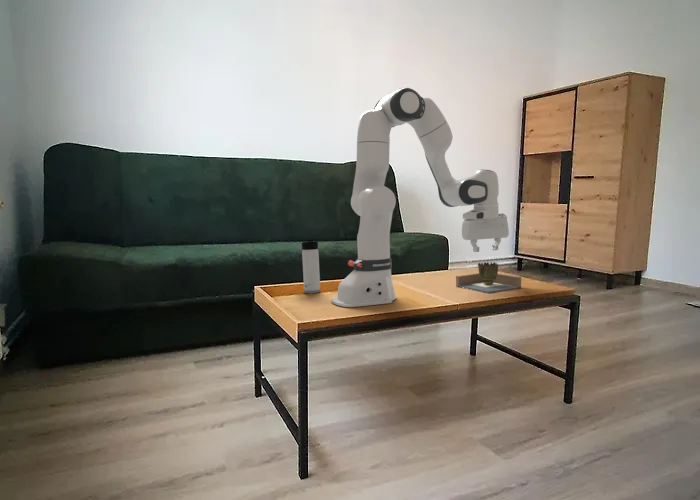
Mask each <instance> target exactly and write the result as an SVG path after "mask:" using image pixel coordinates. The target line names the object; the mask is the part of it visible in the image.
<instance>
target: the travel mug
mask: <svg viewBox="0 0 700 500" xmlns="http://www.w3.org/2000/svg"><path fill="white" fill-rule="evenodd" d="M301 255H302V257H301V258H302V259H301V260H302V273H303V274H302V275H303V277H302V278H303V292H304V294H307V295H310V294H319V293H320V292H321V277H320V276H321V275H320V257H319V256H320V255H319V242H318V241H314V240H308V241H303V242H301Z"/></svg>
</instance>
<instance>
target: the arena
mask: <svg viewBox="0 0 700 500" xmlns="http://www.w3.org/2000/svg"><path fill="white" fill-rule="evenodd" d="M483 281H484V280H482V279H481V278H480V275H479V272H477V273H470V274H469V273H468V274H462V275H461V274H460V275H456V276H455V286H459V287H458V288H461V287H464V288H463V289H466V288H468V289H467V290H470V289H472V290H471V291H475V290H476V292H481V293H484V292H485V294H492V293H498V292H505V291H510V290H511V291H512V290H517V289H522V276H517V275H511V274H505V273H504V274H503V273H497V277H496V279H494V280H493V284H492V285H485V284H484V283H483Z"/></svg>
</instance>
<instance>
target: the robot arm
mask: <svg viewBox="0 0 700 500" xmlns="http://www.w3.org/2000/svg"><path fill="white" fill-rule="evenodd" d="M404 124H408V125H410V126H411V128H412V129H413V130H414V132H415V134H416V136H417V138H418V140H419V142H420V144H421V146H422V149H423V150H424V155H425V159H426V162H427V164H428V166H429V167H428V168H429V169H430V171H431V173H432V174H431V175H432V176H433V179H434V181H435V182H436V185H437V190H438V191H437V192H438V198H439V200H440V201H441V203H442V204H443V205H444V206H446V207H448V208H454V207H455V208H456V207H463V206H466V207H467V206H473V209H471V210H469V211H466V212H464V213H463V214H462V218H463V219H462V220H463V221H462V225H461V236H462V239H463V240H465V241H470V244H471V247H472V251H473V252H474V253H478V252H480V247H479V246H478V244H477V243H478V240H487V239H488V240H489V239H490V240H493V241H494V244H493V245H492V246H491V247H492V248H491V249H492V251H498V250H499V245H500V243H502V242H501V241H502V239H504V238H508V236H509V235H510V233H509V232H510V231H509V230H510V229H509V222H508V216H507V215H506V214H505V213H499V202H498V197H499V178H498V175H497V173H496V172H495V171H494V170H490V169H477V170H476V171H475V172H474V173H473V174H471V175H470V176H467V177H466V178H465V177H464V178H462V179H456V178H454V177H453V176H452V173H451V171H450V168H449V166H448V163H447V160H446V152H447V151H448V150H449V149H450V146H451V145H452V142H453V133H452V130H451V127H450V125H449V124H448V121H447V118H446V117H445V116H444V114H443V113H442V111H441V109H440V108H439V106H438V105H437V104H436V102H434V101H433V99H431V98H430V97H422V96H421V95H420V94H419V92H417V91H416V90H415V89H413V88H410V87H401V88H399V89H397V90H395V91H392V92H389V93H388V94H386V95H384V96H383V97H382V98H380V99H379V100H378V101H377V103H376V104H375V106H374V108H373V109H369V110H366V111H365V112H363V113H362V114H361V115H360V118H359V122H358V127H357V133H356V134H357V136H356V167H355V174H354V180H353V187H352V195H351V199H350V206H351V208H352V210H353V211H354V213H355V214H356V215H357V216H360V218H359V226H358V227H359V228H358V233H357V235H356V236H357V237H356V243H357V258H356V260H355V261H354V260H351V259H350V260H348V261H347V265H348V266H349V267H352V268H353V270H352V271H351V272H349V274H348V275H347V276H346V277H345V278H343V280H342V281H340V282H339V284H338V287H337V294H336V295H337V296H333V297H331V301H330V302H331V303H332V304H334V305H336V306H339V307H344V308H355V307H367V306H374V305H385V304H392V303H393V301H395V300H396V299H397V295H396V293H395V289H394V288H395V287H394V284H393V278H392V277H393V276H392V270H393V266H392V257H391V246H390V245H391V243H390V242H391V241H390V237H391V234H390V233H391V226H392V221H393V220H392V219H393V213H394V209H395V207H396V203H397V200H396V196H395V193H394V192H393V190H391V189H390V188H389V187H387V186H385V184H386V179H387V173H388V171H389V168H390V143H391V141H390V140H391V139H390V134H391V130H392V128H395V127H397V126H402V125H404Z"/></svg>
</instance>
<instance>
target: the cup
mask: <svg viewBox="0 0 700 500" xmlns="http://www.w3.org/2000/svg"><path fill="white" fill-rule="evenodd" d="M477 266H478V269H477V270H478V273H479V275H480V278H481V279H482V280H484V281H483V283H484V284H485V285H492V284H493V280H494V279H496V277H497V273H498V270H499V263H497V262H492V261H491V262H490V263H489V262H488V261H487V262H484V263H483V262H481V263H480V262H478V263H477ZM498 274H499V273H498Z"/></svg>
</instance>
